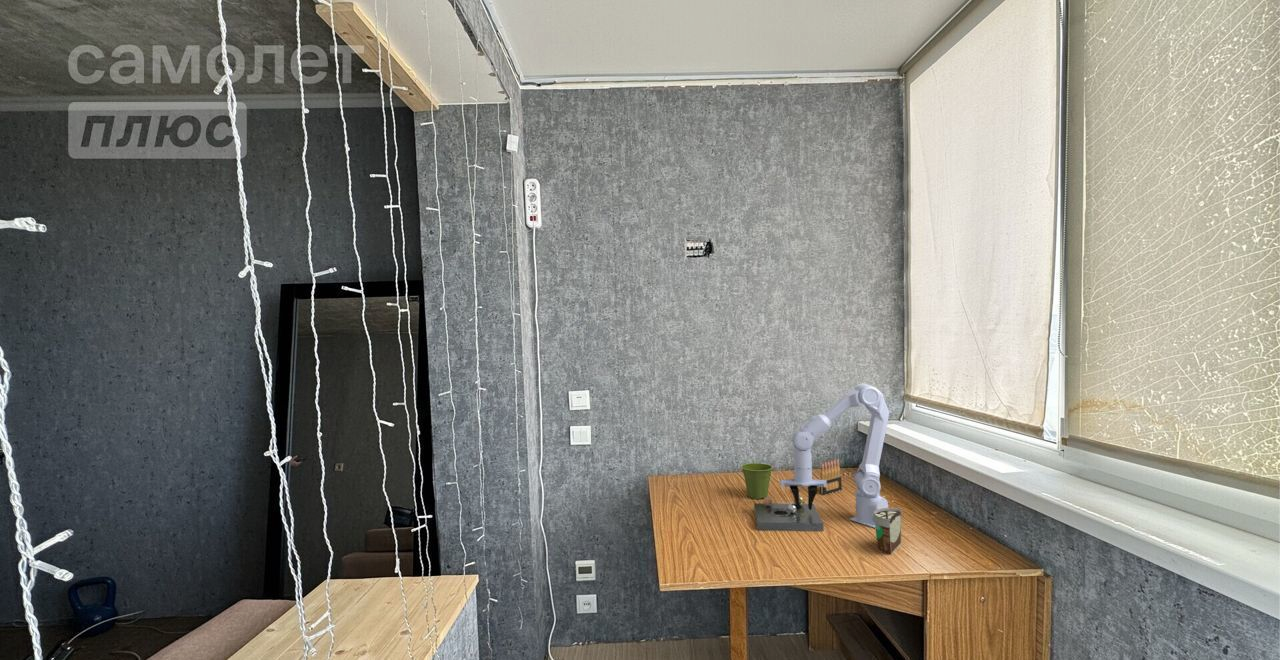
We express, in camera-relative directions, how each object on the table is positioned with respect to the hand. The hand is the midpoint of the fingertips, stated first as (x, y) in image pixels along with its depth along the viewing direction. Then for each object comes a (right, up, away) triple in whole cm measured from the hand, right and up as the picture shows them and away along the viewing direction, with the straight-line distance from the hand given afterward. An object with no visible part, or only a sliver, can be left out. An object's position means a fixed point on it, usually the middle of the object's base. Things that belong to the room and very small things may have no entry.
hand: (803, 508), depth 193 cm
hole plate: (-5, -4, +1) cm, 7 cm away
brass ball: (0, 0, +7) cm, 7 cm away
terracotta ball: (-10, 0, +8) cm, 13 cm away
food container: (+17, -4, -24) cm, 29 cm away
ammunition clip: (+18, -3, +30) cm, 35 cm away
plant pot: (-10, -4, +27) cm, 29 cm away
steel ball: (-4, 0, 0) cm, 4 cm away
